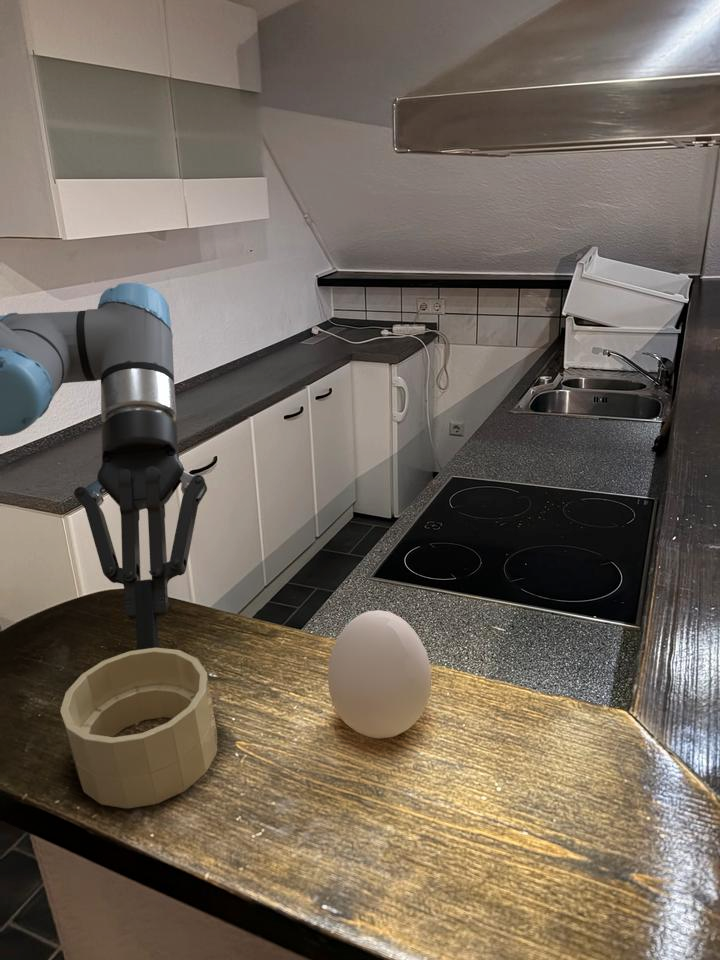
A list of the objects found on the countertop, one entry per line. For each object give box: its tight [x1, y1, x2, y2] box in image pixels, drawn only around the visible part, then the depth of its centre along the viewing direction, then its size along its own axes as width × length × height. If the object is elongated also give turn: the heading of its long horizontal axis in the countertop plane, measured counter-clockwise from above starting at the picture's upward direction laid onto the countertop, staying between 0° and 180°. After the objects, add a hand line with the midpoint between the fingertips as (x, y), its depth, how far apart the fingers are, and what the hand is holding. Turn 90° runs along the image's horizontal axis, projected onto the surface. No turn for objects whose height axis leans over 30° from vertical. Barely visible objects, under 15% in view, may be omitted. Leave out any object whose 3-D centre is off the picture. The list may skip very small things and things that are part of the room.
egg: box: [327, 609, 432, 740], centre depth 64 cm, size 9×9×11 cm
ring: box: [59, 647, 218, 809], centre depth 62 cm, size 11×11×8 cm
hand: (148, 651), depth 71 cm, fingers closed
